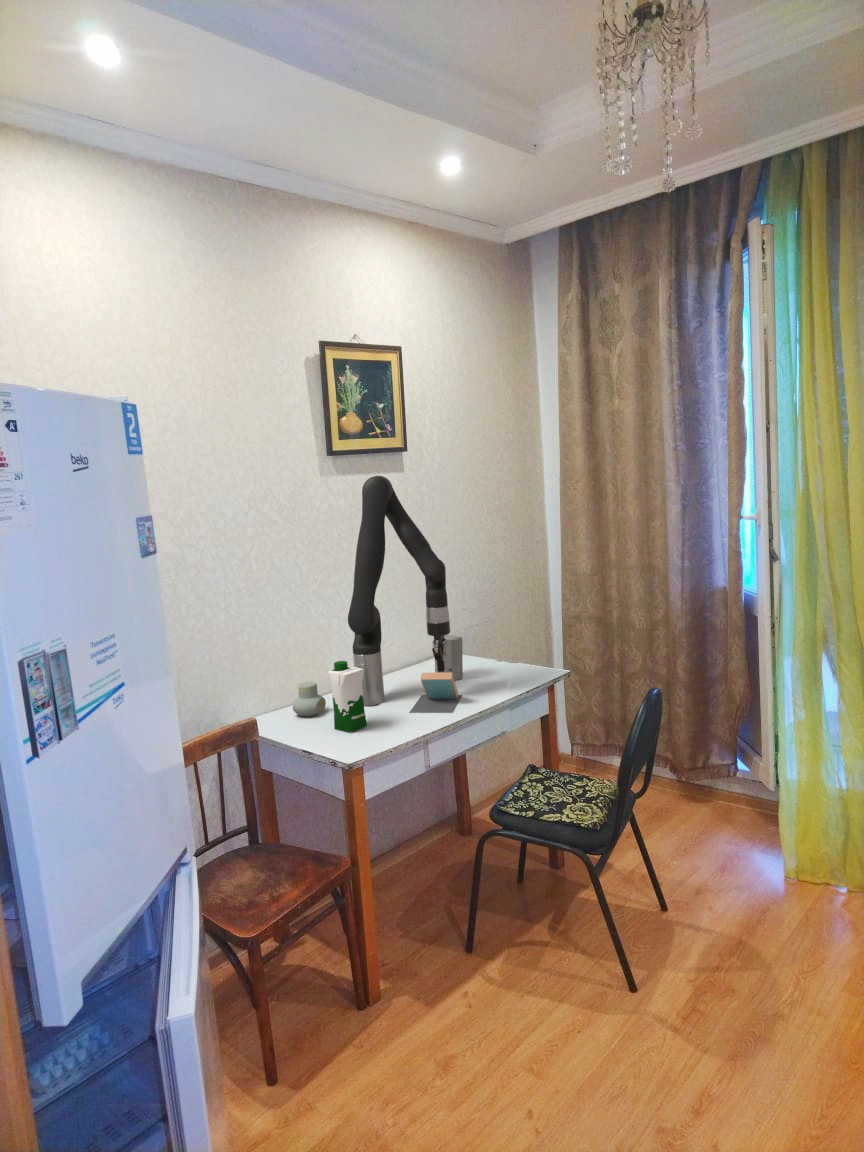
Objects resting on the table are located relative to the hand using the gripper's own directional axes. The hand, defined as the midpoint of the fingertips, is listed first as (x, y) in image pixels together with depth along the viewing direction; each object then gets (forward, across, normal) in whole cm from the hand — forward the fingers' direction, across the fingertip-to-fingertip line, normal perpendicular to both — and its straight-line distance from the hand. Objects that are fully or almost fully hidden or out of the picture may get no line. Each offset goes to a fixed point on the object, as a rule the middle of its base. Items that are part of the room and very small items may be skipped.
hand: (441, 671), depth 250 cm
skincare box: (+10, -24, -2) cm, 26 cm away
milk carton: (+10, +28, -23) cm, 38 cm away
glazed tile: (+8, 0, 0) cm, 8 cm away
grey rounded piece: (+10, +15, -41) cm, 45 cm away
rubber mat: (+10, +6, -1) cm, 11 cm away
